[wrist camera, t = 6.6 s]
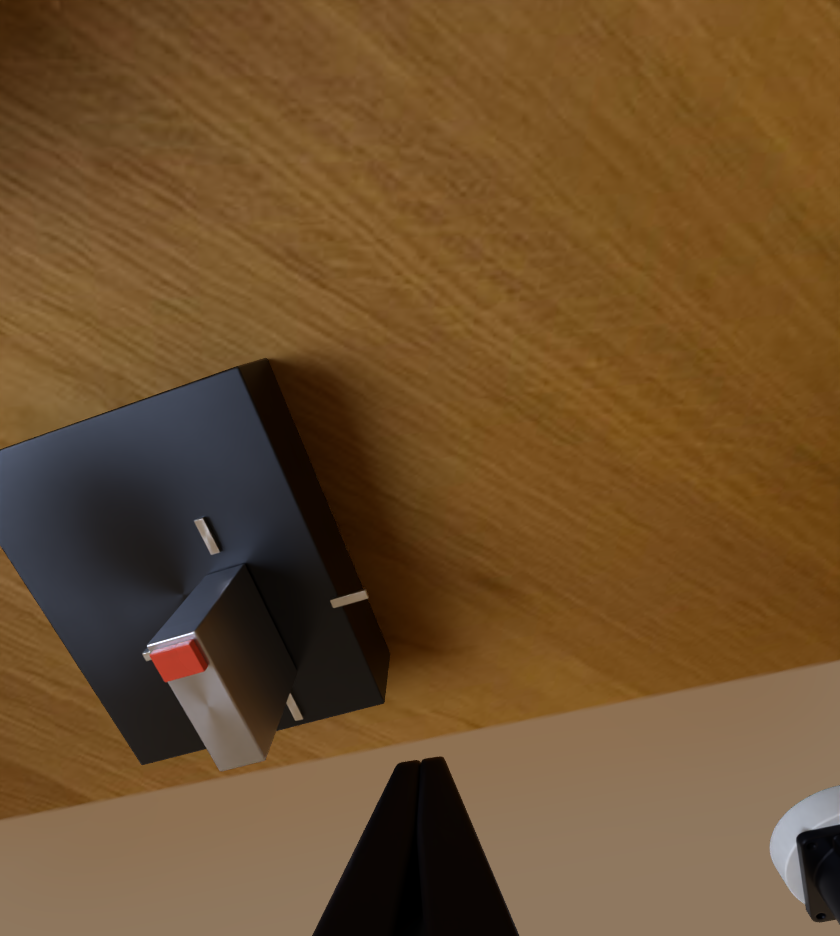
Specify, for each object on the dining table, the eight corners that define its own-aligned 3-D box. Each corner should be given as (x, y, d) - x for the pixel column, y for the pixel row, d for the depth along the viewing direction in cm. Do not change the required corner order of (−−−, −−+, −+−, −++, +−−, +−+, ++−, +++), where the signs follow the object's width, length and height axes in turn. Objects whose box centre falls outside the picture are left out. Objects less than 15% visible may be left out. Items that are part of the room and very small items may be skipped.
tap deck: (413, 648, 22) (410, 700, 19) (176, 711, 24) (139, 769, 21) (294, 347, 19) (268, 355, 16) (17, 444, 20) (-56, 468, 17)
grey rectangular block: (298, 671, 19) (263, 767, 15) (260, 682, 19) (216, 779, 15) (245, 563, 18) (191, 636, 14) (205, 575, 18) (140, 651, 14)
